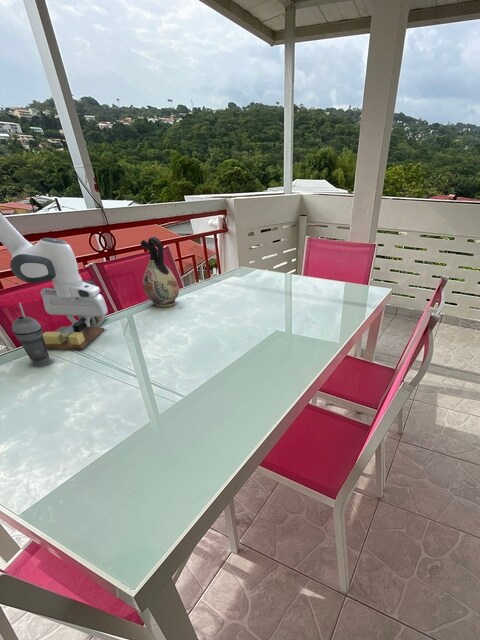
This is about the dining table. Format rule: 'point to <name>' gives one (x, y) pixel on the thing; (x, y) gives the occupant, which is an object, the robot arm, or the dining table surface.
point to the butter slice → (76, 338)
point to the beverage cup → (31, 339)
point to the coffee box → (94, 319)
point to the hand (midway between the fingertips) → (82, 326)
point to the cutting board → (89, 336)
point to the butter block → (53, 338)
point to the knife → (74, 328)
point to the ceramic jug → (159, 276)
